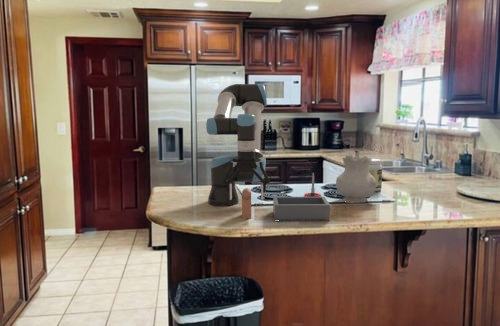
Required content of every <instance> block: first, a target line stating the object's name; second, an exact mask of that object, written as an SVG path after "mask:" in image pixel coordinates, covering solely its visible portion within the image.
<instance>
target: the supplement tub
mask: <svg viewBox="0 0 500 326" xmlns="http://www.w3.org/2000/svg"><path fill="white" fill-rule="evenodd" d="M371 159H372V160H371V162H370V164H369V168H368V170H369V173H370V174H371V175H372V176H373V177H374V178H375V180H376V188H375V191H374V192H380V191H381V190H382V182H383V181H382V180H383V166H382V164H381V163H382V160H381V159H379V158H371Z"/></svg>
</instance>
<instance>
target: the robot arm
mask: <svg viewBox="0 0 500 326" xmlns="http://www.w3.org/2000/svg"><path fill="white" fill-rule="evenodd" d="M266 91H267V90H266V87H265V85H264V84H263V83H234V84H231V85H228V86H227V87H225V88H224V89H222V90H221V91H220V93H218V94H219V95H218V97H217V107H216V110H215V113H214V115H213V117H209V118H207V119H206V122H205V123H206V127H205V128H206V133H207V135H210V136H211V135H214V136H224V135H225V136H228V135H229V136H233V135H234V136H237V140H236V141H237V155H236V156H237V157H236V156H235V155H234V154H223V155H218V156H215V157H213V158H212V159H211V161H210V172H211V173H210V181H211V183H210V184H211V185H210V186H211V188H210V191H209V194H208V198H207V203H208V204H209V205H211V206H217V207H227V206H233V205H237V204H239V201H240V199H239V194H238V192H237V189H236V182H237V183H257V182H259V183H260V182H261V185H260V189H261V190H260V191H261V192H260V194H261V195H260V196H261V197H260V198H261V201H262V200H264V192H266V188H267V186H266V185H267V184H270V182H271V180H270V178H269V175H267V173H266V165H267V164H266V163H267V159H266V158H265V157H264V155H263V153H262V152H261V129H262V126H261V125H262V122H261V121H262V112H263V111H264V109H265V107H267V105H268V103H267V93H266ZM234 107H241V109H242V110H243V111H244V113H243V114H241V113H240V114H238V115H237V117H231V116H232V112H233V109H234Z"/></svg>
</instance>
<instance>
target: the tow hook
mask: <svg viewBox="0 0 500 326" xmlns="http://www.w3.org/2000/svg"><path fill="white" fill-rule="evenodd" d="M310 188H311V189H310V190H311V191H310V192H305V193H304V197H322V194H321V193H318V192H317V193H316V192H315V173H314V172H312V177H311V187H310Z"/></svg>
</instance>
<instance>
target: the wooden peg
mask: <svg viewBox="0 0 500 326" xmlns="http://www.w3.org/2000/svg"><path fill="white" fill-rule="evenodd" d="M242 218H251V219H252V190H251V189H249V188H246V187H245V188H243V190H242V192H241V219H242Z"/></svg>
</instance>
